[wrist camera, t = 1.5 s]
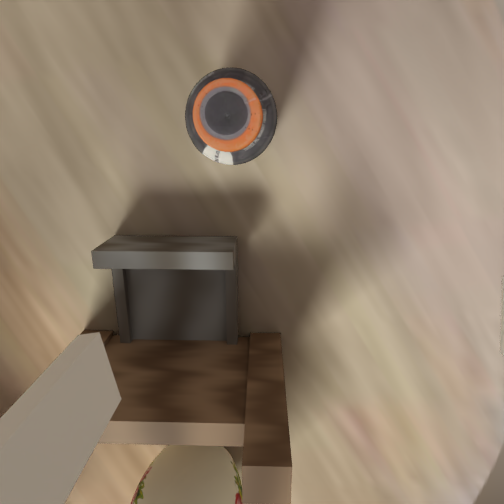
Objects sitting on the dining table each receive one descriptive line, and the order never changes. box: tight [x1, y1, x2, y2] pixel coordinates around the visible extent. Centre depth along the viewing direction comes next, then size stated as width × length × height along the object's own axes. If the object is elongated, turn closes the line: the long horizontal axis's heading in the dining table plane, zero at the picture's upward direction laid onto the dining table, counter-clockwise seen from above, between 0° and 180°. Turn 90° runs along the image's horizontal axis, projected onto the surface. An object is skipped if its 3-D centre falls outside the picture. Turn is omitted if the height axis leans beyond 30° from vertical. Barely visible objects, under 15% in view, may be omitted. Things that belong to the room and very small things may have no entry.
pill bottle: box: [185, 68, 277, 165], centre depth 27 cm, size 6×6×11 cm
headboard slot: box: [80, 236, 292, 504], centre depth 29 cm, size 20×13×16 cm, turn 90°
